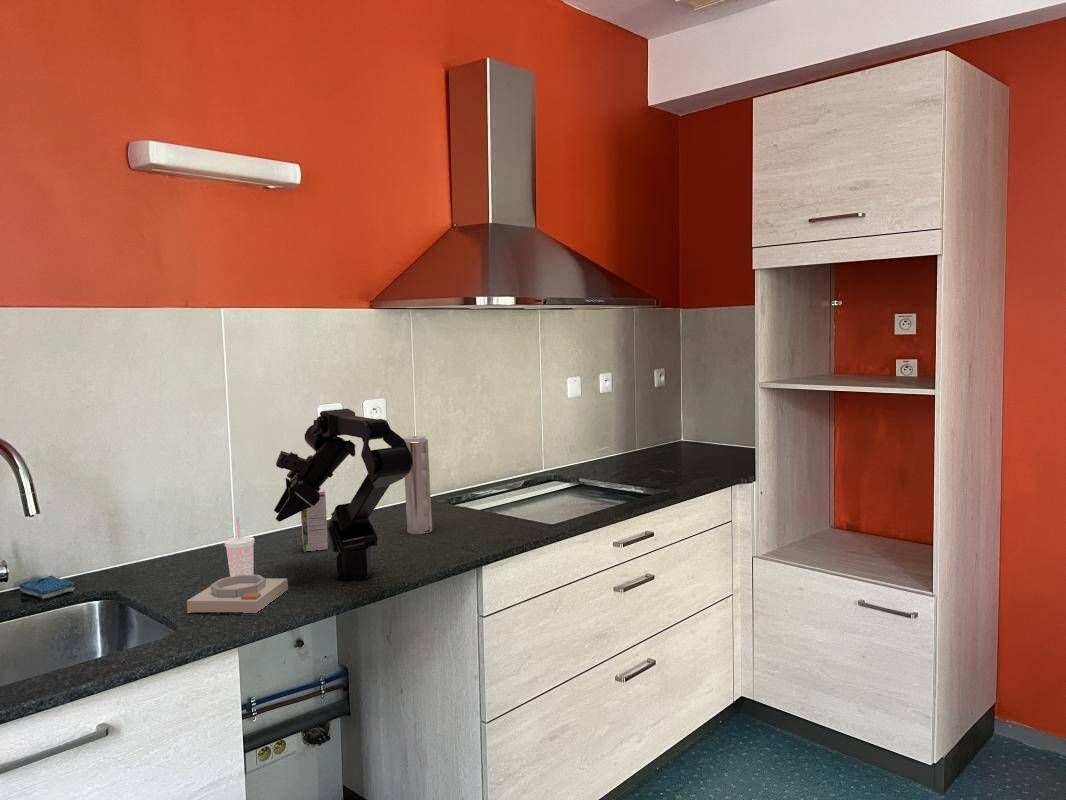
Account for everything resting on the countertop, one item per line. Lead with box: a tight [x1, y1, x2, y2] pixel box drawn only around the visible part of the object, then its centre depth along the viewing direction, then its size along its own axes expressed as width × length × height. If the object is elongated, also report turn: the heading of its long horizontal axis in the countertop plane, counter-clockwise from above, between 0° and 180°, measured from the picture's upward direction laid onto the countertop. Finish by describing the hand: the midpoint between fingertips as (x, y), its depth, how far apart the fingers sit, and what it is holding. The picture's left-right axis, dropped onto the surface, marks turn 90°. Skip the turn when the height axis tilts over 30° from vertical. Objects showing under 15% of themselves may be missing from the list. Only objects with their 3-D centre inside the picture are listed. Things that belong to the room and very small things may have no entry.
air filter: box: [403, 435, 433, 535], centre depth 213 cm, size 6×6×25 cm
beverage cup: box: [223, 516, 255, 577], centre depth 175 cm, size 6×6×14 cm
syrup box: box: [300, 487, 329, 553], centre depth 200 cm, size 6×6×14 cm
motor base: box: [186, 574, 289, 614], centre depth 162 cm, size 14×14×4 cm
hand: (276, 516), depth 177 cm, fingers open, 9 cm apart
